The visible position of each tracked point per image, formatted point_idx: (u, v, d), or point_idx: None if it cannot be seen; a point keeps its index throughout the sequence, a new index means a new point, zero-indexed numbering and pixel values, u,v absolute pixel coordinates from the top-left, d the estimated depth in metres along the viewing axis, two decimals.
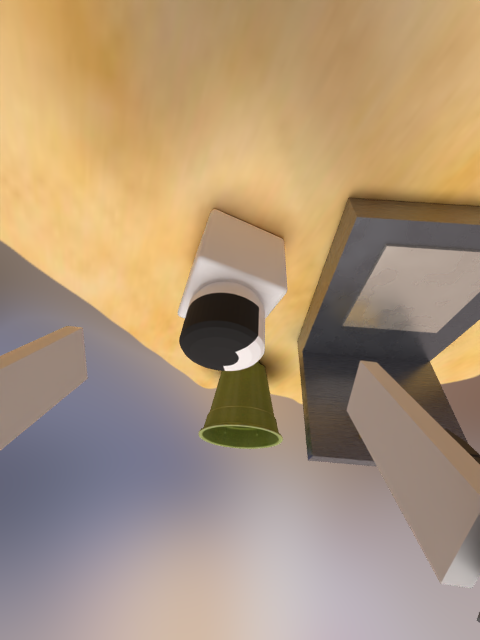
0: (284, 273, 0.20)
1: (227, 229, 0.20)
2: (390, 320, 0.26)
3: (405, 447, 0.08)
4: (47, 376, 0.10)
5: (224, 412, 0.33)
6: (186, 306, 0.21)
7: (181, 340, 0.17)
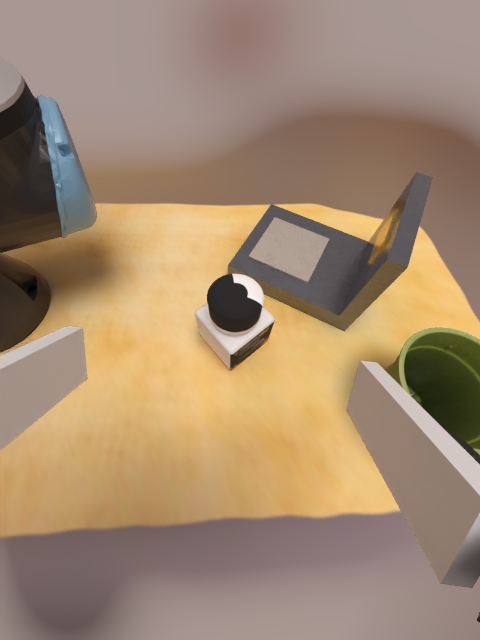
0: None
1: None
2: (309, 258, 0.40)
3: (405, 447, 0.08)
4: (47, 376, 0.10)
5: None
6: (223, 339, 0.29)
7: (215, 312, 0.25)
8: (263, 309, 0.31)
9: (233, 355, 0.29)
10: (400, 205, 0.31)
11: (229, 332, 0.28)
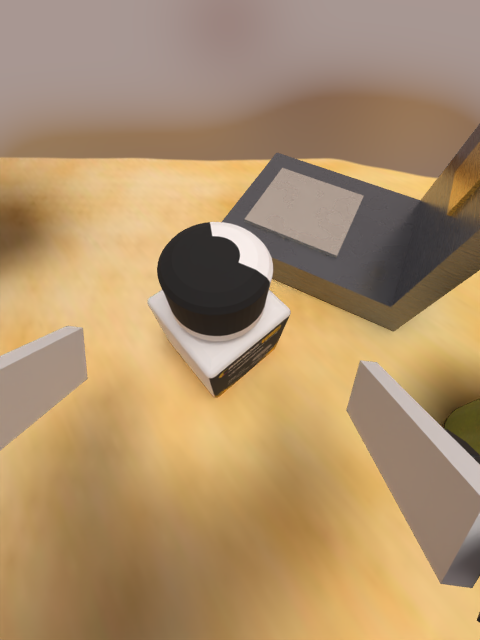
0: None
1: None
2: (336, 221, 0.26)
3: (405, 447, 0.08)
4: (47, 376, 0.10)
5: None
6: (196, 349, 0.15)
7: (171, 294, 0.12)
8: (270, 294, 0.17)
9: (215, 378, 0.16)
10: None
11: (205, 336, 0.14)
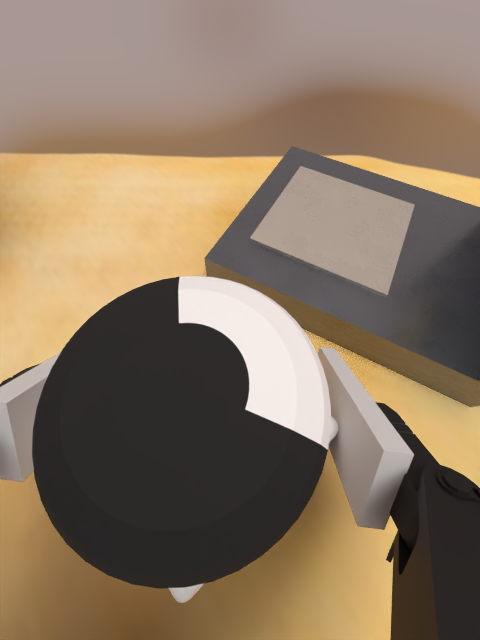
0: None
1: None
2: (381, 242, 0.18)
3: (343, 417, 0.09)
4: None
5: None
6: None
7: (51, 513, 0.04)
8: None
9: None
10: None
11: None
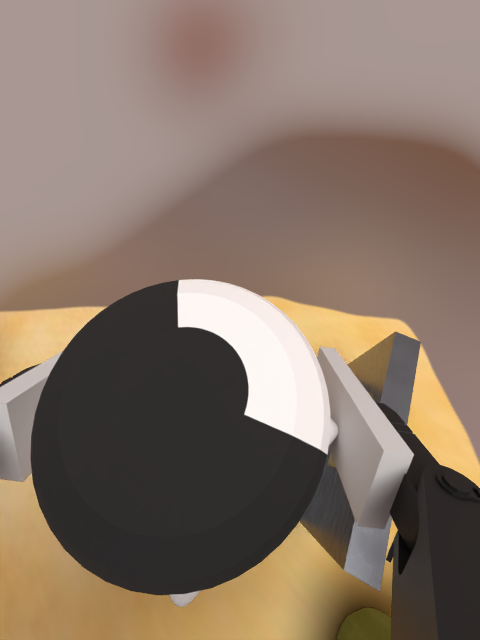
0: None
1: None
2: None
3: (343, 417, 0.09)
4: None
5: None
6: None
7: (49, 519, 0.04)
8: None
9: None
10: (372, 387, 0.20)
11: None
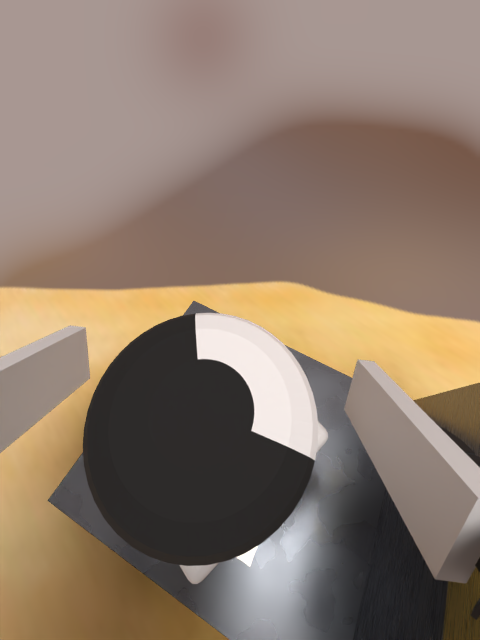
0: None
1: None
2: None
3: (401, 445, 0.08)
4: (51, 375, 0.10)
5: None
6: None
7: (104, 510, 0.05)
8: None
9: None
10: None
11: None
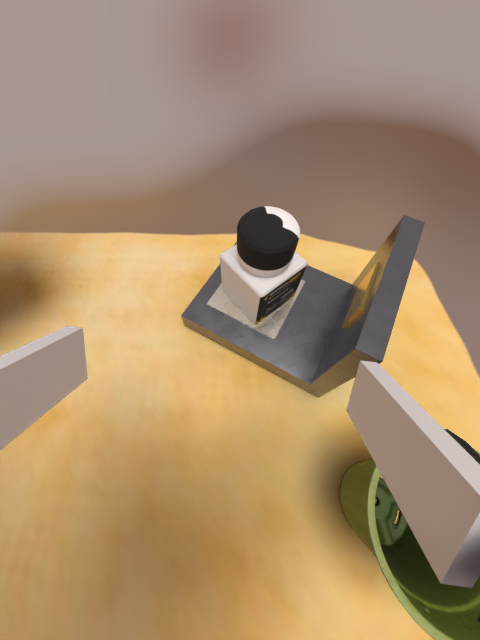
0: None
1: None
2: None
3: (405, 447, 0.08)
4: (47, 376, 0.10)
5: (367, 521, 0.18)
6: (252, 281, 0.26)
7: (247, 243, 0.23)
8: (294, 253, 0.28)
9: (263, 299, 0.27)
10: (383, 257, 0.24)
11: (260, 271, 0.25)
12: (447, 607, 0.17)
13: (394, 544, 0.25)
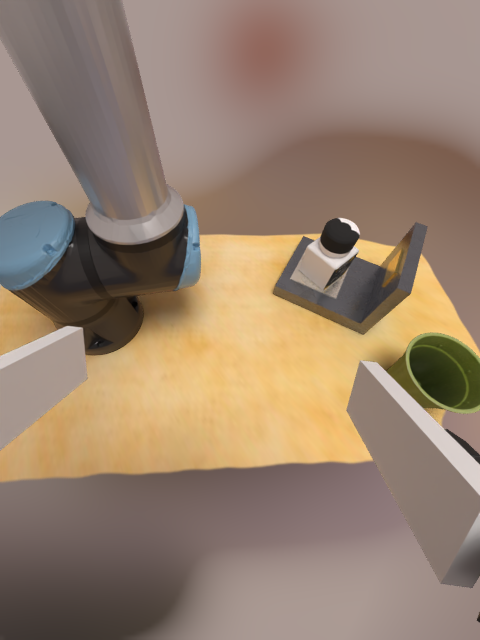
0: None
1: None
2: None
3: (405, 447, 0.08)
4: (47, 376, 0.10)
5: (404, 372, 0.38)
6: (330, 261, 0.46)
7: (333, 238, 0.42)
8: None
9: (335, 271, 0.46)
10: (405, 246, 0.44)
11: (336, 254, 0.44)
12: None
13: None
